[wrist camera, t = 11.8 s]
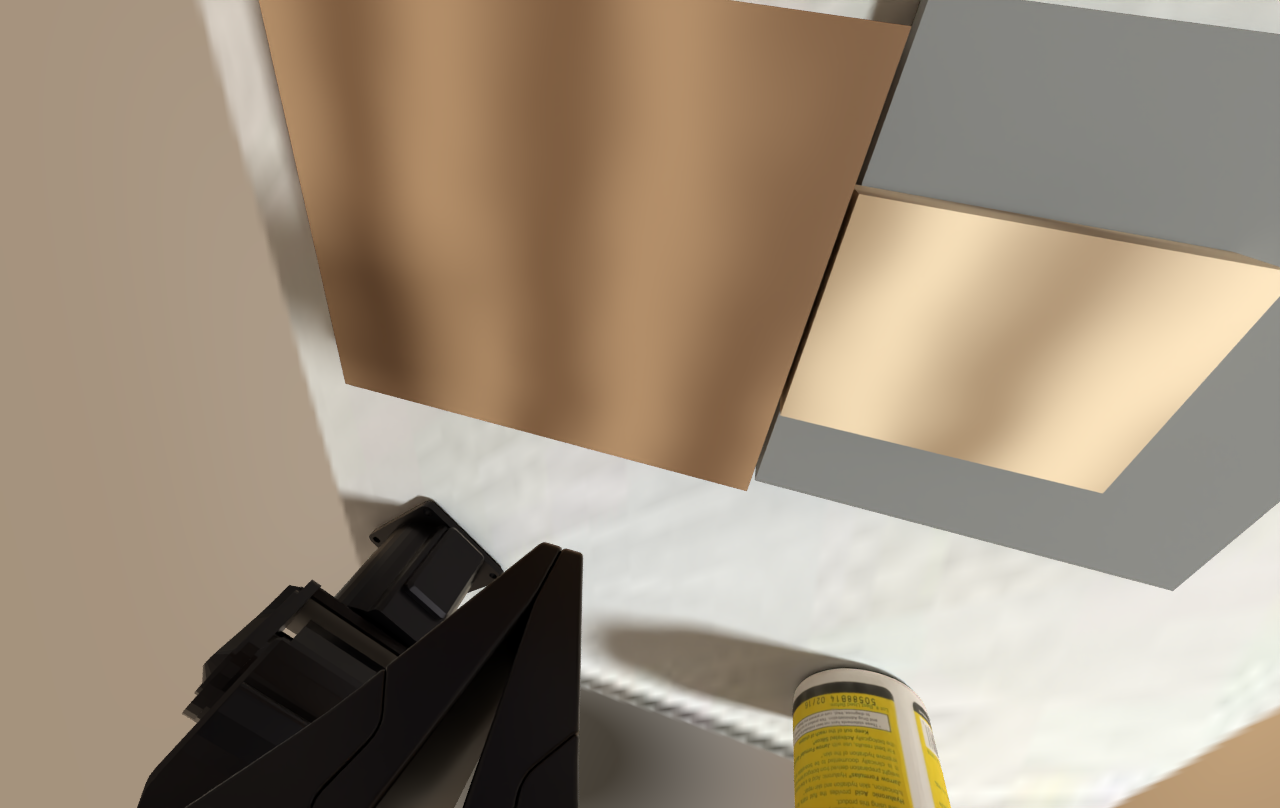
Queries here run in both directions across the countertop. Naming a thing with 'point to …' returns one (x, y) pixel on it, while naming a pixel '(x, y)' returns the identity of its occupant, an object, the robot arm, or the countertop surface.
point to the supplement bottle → (863, 744)
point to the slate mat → (1098, 197)
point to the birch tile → (1014, 334)
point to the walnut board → (580, 205)
